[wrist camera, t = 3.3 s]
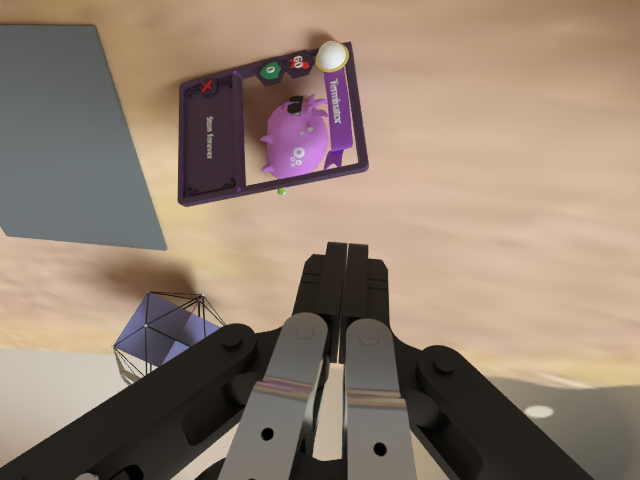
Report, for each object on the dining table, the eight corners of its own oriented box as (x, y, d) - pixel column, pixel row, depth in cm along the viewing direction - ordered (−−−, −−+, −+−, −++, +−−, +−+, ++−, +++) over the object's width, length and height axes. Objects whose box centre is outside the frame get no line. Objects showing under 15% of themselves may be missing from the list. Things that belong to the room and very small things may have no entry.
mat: (94, 25, 18) (92, 26, 18) (167, 249, 26) (165, 250, 26) (-124, 23, 20) (-128, 24, 20) (8, 234, 28) (6, 236, 28)
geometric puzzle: (172, 249, 26) (103, 338, 20) (256, 294, 28) (216, 390, 22) (147, 303, 31) (84, 391, 24) (221, 340, 32) (179, 431, 26)
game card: (170, 74, 18) (347, 23, 16) (222, 129, 23) (363, 95, 21) (167, 199, 16) (366, 158, 14) (224, 230, 21) (379, 203, 19)
